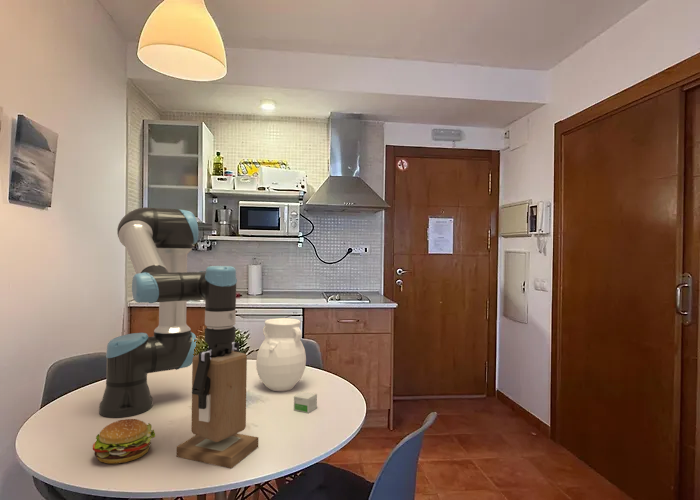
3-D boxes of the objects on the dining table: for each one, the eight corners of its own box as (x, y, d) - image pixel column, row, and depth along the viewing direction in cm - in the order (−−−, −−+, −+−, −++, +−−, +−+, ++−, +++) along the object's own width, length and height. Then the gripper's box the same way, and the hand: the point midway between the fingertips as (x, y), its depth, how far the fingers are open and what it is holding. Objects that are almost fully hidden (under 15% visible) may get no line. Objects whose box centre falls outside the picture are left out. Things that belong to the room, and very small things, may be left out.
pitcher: (315, 385, 166) (316, 319, 166) (283, 398, 151) (284, 326, 151) (278, 376, 176) (279, 315, 176) (245, 388, 161) (246, 321, 161)
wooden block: (216, 444, 104) (218, 360, 104) (189, 434, 110) (190, 355, 110) (247, 430, 113) (248, 352, 113) (220, 421, 118) (221, 347, 118)
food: (149, 464, 104) (149, 431, 104) (84, 469, 101) (85, 435, 101) (161, 439, 118) (162, 410, 118) (104, 443, 115) (105, 413, 115)
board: (176, 456, 108) (176, 446, 108) (207, 437, 120) (207, 427, 119) (231, 468, 103) (231, 457, 103) (258, 446, 114) (258, 436, 114)
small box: (293, 410, 140) (293, 395, 140) (302, 405, 145) (302, 390, 145) (308, 413, 138) (308, 398, 138) (317, 408, 143) (317, 393, 143)
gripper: (203, 336, 99) (201, 432, 99) (257, 320, 121) (256, 399, 121) (176, 333, 101) (174, 427, 101) (234, 318, 123) (233, 396, 123)
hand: (219, 412), depth 111 cm, fingers closed on wooden block, 11 cm apart
